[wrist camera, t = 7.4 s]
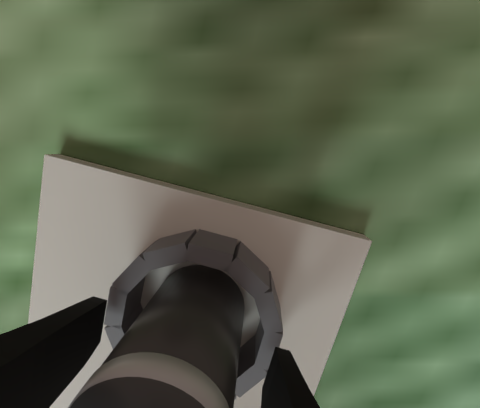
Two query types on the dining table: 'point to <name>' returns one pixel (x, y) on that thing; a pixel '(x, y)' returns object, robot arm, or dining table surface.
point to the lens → (175, 348)
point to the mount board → (185, 254)
